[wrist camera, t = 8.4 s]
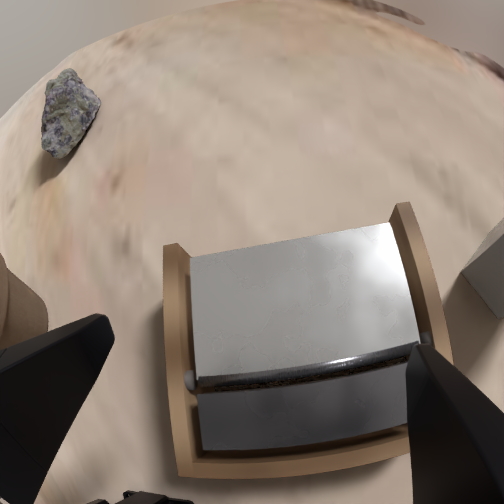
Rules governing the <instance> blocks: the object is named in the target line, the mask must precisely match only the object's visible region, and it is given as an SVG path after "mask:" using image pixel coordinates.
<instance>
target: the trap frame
mask: <svg viewBox="0 0 504 504" xmlns="http://www.w3.org/2000/svg"><path fill="white" fill-rule="evenodd" d="M388 223H390V225H391V228H392V231H393V234H394V237H395V241H396V244H397V247H398V251H399V254H400V257H401V261H402V264H403V268H404V272H405V276H406V279H407V283H408V287H409V291H410V295H411V300H412V304H413V308H414V313H415V317H416V322H417V327H418V332H419V337H420V343H421V344H426V343H427V344H430V345H431V346H432V347H434V348H435V349H436V350H437V351H438V352H439V353H440V354H441V355H442V356H444V357H445V358H446V359H447V360H448V361H449V362H450V363H451V364H452V365H453V366H454V364H453V358H452V351H451V346H450V340H449V335H448V329H447V325H446V320H445V315H444V311H443V306H442V302H441V298H440V294H439V290H438V286H437V283H436V279H435V275H434V272H433V268H432V265H431V262H430V258H429V255H428V252H427V249H426V246H425V243H424V240H423V237H422V234H421V231H420V228H419V225H418V222H417V220H416V217H415V214H414V212H413V209H412V206H411V204H410V202H404V203H398V204H396V205H395V208H394V210H393V212H392V215H391V217H390V219H389V222H388ZM190 258H192V257H191V256H190V255H189V254H188V253H187V252H186V251H185V250H184V249H183V248H182V247H181V246H180V245H179V244H178V243H174V244H170V245H165V246H163V315H164V341H165V360H166V374H167V387H168V399H169V409H170V418H171V427H172V435H173V443H174V450H175V457H176V464H177V471H178V476H181V477H193V478H211V479H259V478H277V477H289V476H299V475H308V474H315V473H322V472H329V471H335V470H341V469H346V468H351V467H356V466H361V465H365V464H369V463H374V462H378V461H381V460H385V459H389V458H393V457H396V456H400V455H403V454H406V453H409V452H410V446H409V436H408V427H407V423H405V424H401V425H398V426H394V427H390V428H387V429H383V430H379V431H375V432H371V433H367V434H362V435H358V436H353V437H348V438H343V439H337V440H332V441H326V442H320V443H313V444H306V445H298V446H289V447H279V448H266V449H249V450H203V445H202V437H201V429H200V420H199V411H198V402H197V394H203V393H209V392H215V388H214V387H200V385H199V382H198V380H197V375H196V363H195V350H194V336H193V320H192V301H191V276H190ZM410 355H411V354H410ZM410 355H407V356H406V359H407V361H408V360H409V358H410Z"/></svg>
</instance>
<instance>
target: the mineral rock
mask: <svg viewBox="0 0 504 504" xmlns="http://www.w3.org/2000/svg"><path fill="white" fill-rule="evenodd" d="M45 95H46V104H45V107H44V111H43V115H42V127H41V132H42V138H41V139H42V148H43V149H44V150H47V151H48V152H50V153H51V154H52V156H53V157H54V158H57V159H61V158H64V157H65V156H67V155H68V153H69V152H70V151H71V150H72V148H73V147H75V146H76V145H77V143H78V142H79V141H80V140H81V138H82V136H83V135H84V134H85V131H86V130H87V128H88V127H89V125H90V123H91V121H92V120H93V119H94V117H95V113H96V112H97V111H98V108H99V106H100V104H101V102H100V99H99V98H98V97H97V96H96V95H95V94H94V92H93V90H91V89H88V88H87V87H86V86H85V85H84V84H83V82H82V79H80V78H79V77H78V75H77V73H76V71H74V70H73V69H70V68H69V69H66V70H64V71H62V72H61V73H60V75H59V76H58V77H57V79H53V80H49V81H48V83H47V86H46V91H45Z"/></svg>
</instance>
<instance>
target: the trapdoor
mask: <svg viewBox="0 0 504 504" xmlns="http://www.w3.org/2000/svg"><path fill="white" fill-rule="evenodd" d="M190 276H191V301H192V320H193V336H194V350H195V363H196V375H197V380H198V382H199V385H200V387H218V386H232V385H244V384H255V383H264V382H273V381H281V380H289V379H296V378H303V377H309V376H315V375H321V374H327V373H332V372H338V371H343V370H348V369H353V368H357V367H362V366H367V365H371V364H375V363H379V362H384V361H388V360H392V359H396V358H399V357H403V356H407V355H410V354H411V352H412V349H413V347H414V345H415V344H421V343H420V337H419V332H418V327H417V322H416V317H415V313H414V308H413V304H412V300H411V295H410V291H409V287H408V283H407V279H406V276H405V272H404V268H403V264H402V261H401V257H400V254H399V251H398V247H397V244H396V241H395V237H394V234H393V231H392V228H391V225H390V223H384V224H378V225H372V226H366V227H361V228H355V229H349V230H343V231H338V232H332V233H326V234H321V235H315V236H309V237H304V238H298V239H292V240H287V241H281V242H275V243H270V244H264V245H258V246H253V247H247V248H242V249H236V250H231V251H225V252H219V253H214V254H208V255H203V256H197V257H192V258H190ZM408 361H409V360H408ZM408 361H404V362H400V363H397V364H393V365H389V366H385V367H381V368H377V369H372V370H368V371H364V372H359V373H354V374H350V375H345V376H339V377H334V378H329V379H323V380H317V381H311V382H305V383H298V384H291V385H283V386H275V387H266V388H257V389H246V390H234V391H219V392H209V393H203V394H197V402H198V411H199V420H200V429H201V437H202V445H203V450H249V449H266V448H279V447H289V446H298V445H306V444H313V443H320V442H326V441H332V440H337V439H343V438H348V437H353V436H358V435H362V434H367V433H371V432H375V431H379V430H383V429H387V428H390V427H394V426H398V425H401V424H405V423H407V398H406V377H405V373H406V367H407V364H408Z"/></svg>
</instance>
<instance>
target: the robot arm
mask: <svg viewBox="0 0 504 504" xmlns="http://www.w3.org/2000/svg"><path fill="white" fill-rule="evenodd" d="M114 340H115V336H114V333H113V330H112V327H111V324H110V321H109V319H108V317H107V316H106V315H102V314H97V313H96V314H93V315H90V316H87V317H85V318H82V319H80V320H77V321H74V322H72V323H69V324H67V325H64V326H62V327H59V328H56V329H54V330H51V331H49V332H46V333H43V334H41V335H38V336H36V337H33V338H30V339H28V340H25V341H23V342H20V343H17V344H15V345H12V346H10V347H8V348H4V349H2V350H0V498H3V499H4V500H6V501H7V502H8V503H9V504H34V501H35V499H36V497H37V495H38V492H39V490H40V488H41V486H42V484H43V482H44V479H45V477H46V475H47V472H48V470H49V468H50V466H51V464H52V462H53V460H54V458H55V456H56V454H57V452H58V450H59V448H60V446H61V444H62V442H63V440H64V438H65V436H66V435H67V433H68V431H69V429H70V427H71V425H72V423H73V421H74V419H75V418H76V416H77V414H78V412H79V410H80V408H81V407H82V405H83V403H84V401H85V399H86V398H87V396H88V394H89V392H90V391H91V389H92V387H93V385H94V384H95V382H96V380H97V378H98V376H99V374H100V372H101V369H102V367H103V365H104V363H105V361H106V359H107V356H108V354H109V352H110V350H111V348H112V346H113V344H114ZM405 377H406V398H407V427H408V436H409V446H410V456H411V469H412V485H413V504H504V413H503V412H502V411H501V410H500V409H499V408H498V407H497V406H496V405H495V404H494V403H493V402H492V401H491V400H490V399H489V398H488V397H487V396H486V395H485V394H484V393H482V392H481V391H480V390H479V389H478V388H477V387H476V386H475V385H474V384H473V383H472V382H471V381H470V380H469V379H468V378H467V377H465V376H464V375H463V374H462V373H461V372H460V371H459V370H458V369H457V368H456V367H455V366H453V365H452V364H451V363H450V362H449V361H448V360H447V359H446V358H445V357H444V356H442V355H441V354H440V353H439V352H438V351H437V350H436V349H435V348H434V347H432V346H431V345H430V344H427V343H426V344H415V345H414V347H413V349H412V352H411V355H410V358H409V361H408V364H407V367H406V373H405ZM128 494H129V495H130V497H129V496H128ZM123 496H124V500H122V501H120V502H118V503H115V504H194V503H193V502H192V501H190V500H183V499H175V498H169V497H167V496H166V495H160V494H154V493H148V492H143V491H139V492H134V491H129V490H128V491H126V492H124V493H123ZM0 504H2V503H1V502H0ZM87 504H109V503H108V502H107V501H106V500H103V499H97V500H95V501H92V502H90V503H87Z"/></svg>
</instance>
